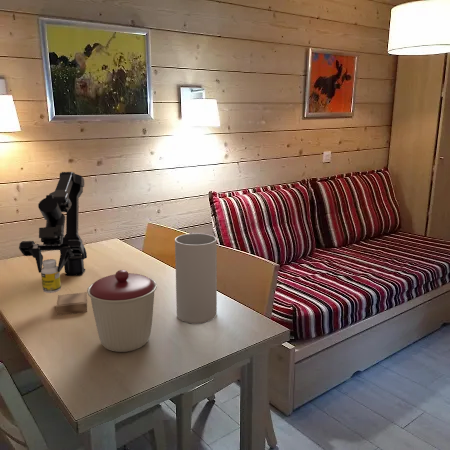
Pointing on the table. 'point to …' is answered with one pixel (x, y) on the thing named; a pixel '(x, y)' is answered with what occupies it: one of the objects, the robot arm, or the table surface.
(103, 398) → the table surface
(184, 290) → the cylinder vase
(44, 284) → the supplement bottle
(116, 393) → the table surface
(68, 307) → the square wooden block
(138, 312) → the canister
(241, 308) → the table surface
